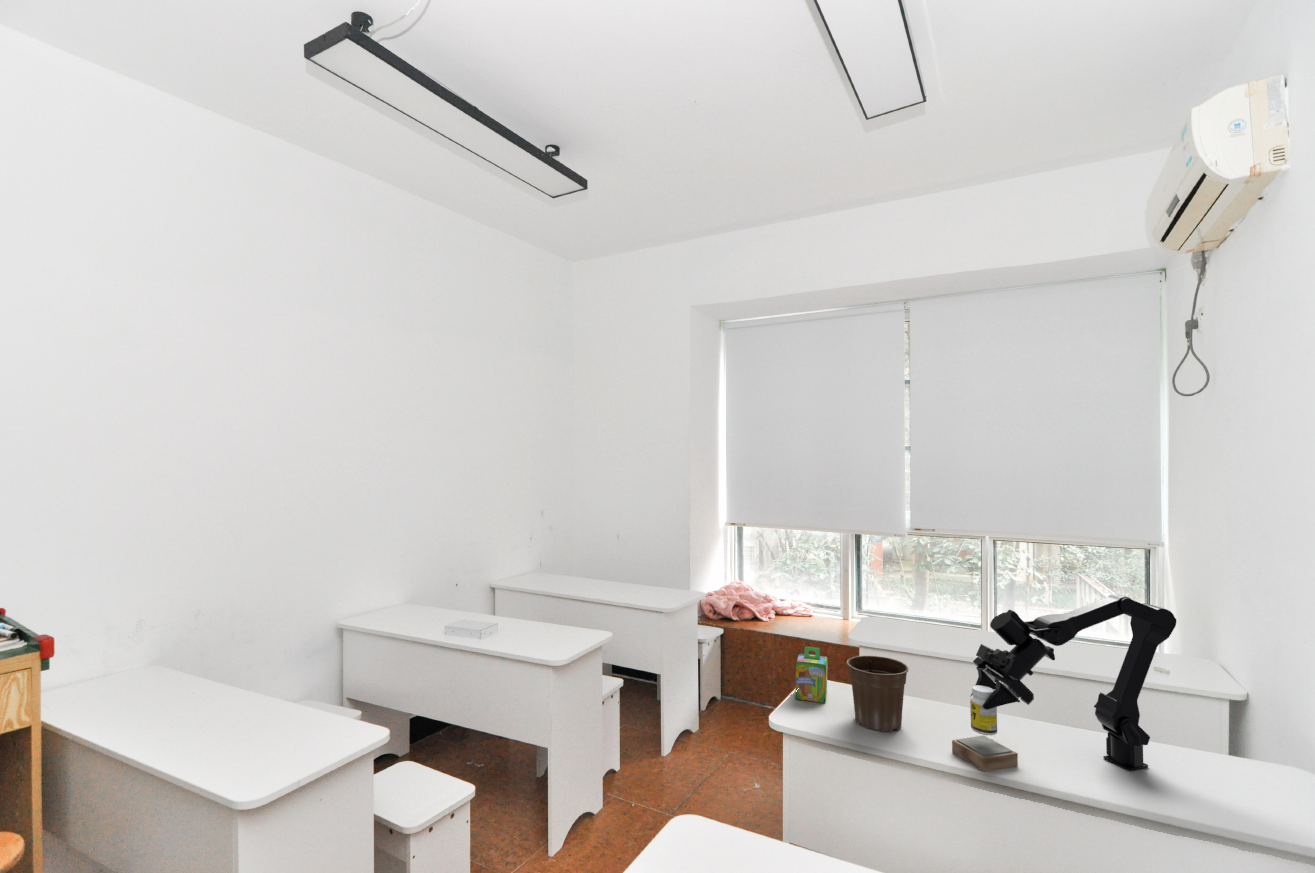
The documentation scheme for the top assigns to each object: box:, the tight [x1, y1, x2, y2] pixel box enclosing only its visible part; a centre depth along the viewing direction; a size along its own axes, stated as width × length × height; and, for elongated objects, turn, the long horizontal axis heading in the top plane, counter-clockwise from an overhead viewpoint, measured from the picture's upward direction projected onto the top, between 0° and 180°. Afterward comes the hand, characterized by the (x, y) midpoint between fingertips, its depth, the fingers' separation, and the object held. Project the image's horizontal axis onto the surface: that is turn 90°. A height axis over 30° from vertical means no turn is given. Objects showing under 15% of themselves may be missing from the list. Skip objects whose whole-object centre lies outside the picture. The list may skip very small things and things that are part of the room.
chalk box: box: [794, 646, 829, 704], centre depth 188 cm, size 9×9×15 cm
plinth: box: [951, 734, 1019, 773], centre depth 149 cm, size 10×10×3 cm
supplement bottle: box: [969, 684, 998, 736], centre depth 149 cm, size 6×6×10 cm
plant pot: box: [846, 655, 909, 732], centre depth 169 cm, size 16×16×16 cm
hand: (977, 702), depth 150 cm, fingers closed on supplement bottle, 6 cm apart
